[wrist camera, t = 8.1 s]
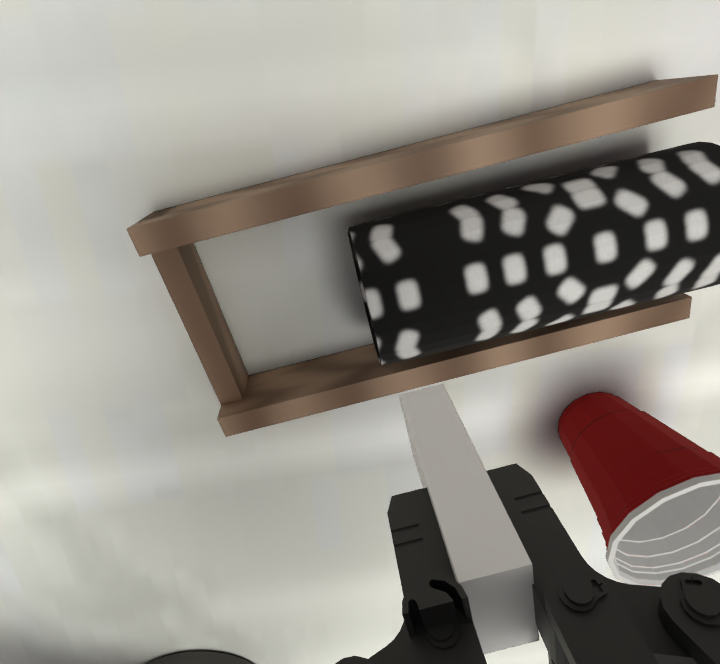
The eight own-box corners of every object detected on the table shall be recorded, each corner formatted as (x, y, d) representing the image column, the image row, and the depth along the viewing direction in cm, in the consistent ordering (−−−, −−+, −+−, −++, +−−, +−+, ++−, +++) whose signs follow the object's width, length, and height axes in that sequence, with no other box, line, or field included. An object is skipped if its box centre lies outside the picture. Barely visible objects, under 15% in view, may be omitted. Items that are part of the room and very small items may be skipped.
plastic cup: (515, 472, 40) (591, 606, 29) (543, 366, 35) (647, 479, 24) (628, 468, 41) (741, 595, 30) (670, 366, 36) (823, 473, 25)
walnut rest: (235, 397, 33) (225, 436, 29) (153, 211, 27) (126, 229, 23) (642, 292, 33) (689, 317, 29) (656, 80, 27) (718, 74, 23)
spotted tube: (347, 221, 21) (753, 122, 21) (346, 231, 30) (640, 159, 30) (386, 383, 23) (767, 291, 23) (374, 350, 31) (655, 282, 31)
